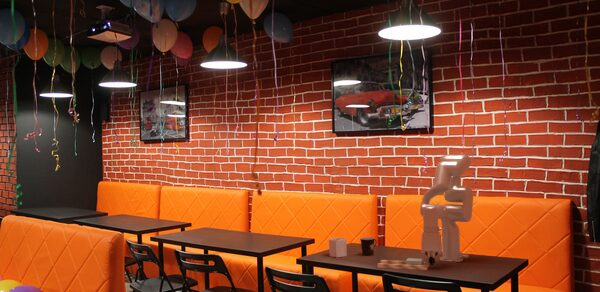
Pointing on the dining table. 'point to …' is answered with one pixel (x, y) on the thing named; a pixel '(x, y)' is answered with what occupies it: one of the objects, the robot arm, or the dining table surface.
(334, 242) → the white box
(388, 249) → the dining table surface
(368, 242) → the coffee mug
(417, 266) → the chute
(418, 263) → the grayish brown block
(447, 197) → the robot arm
